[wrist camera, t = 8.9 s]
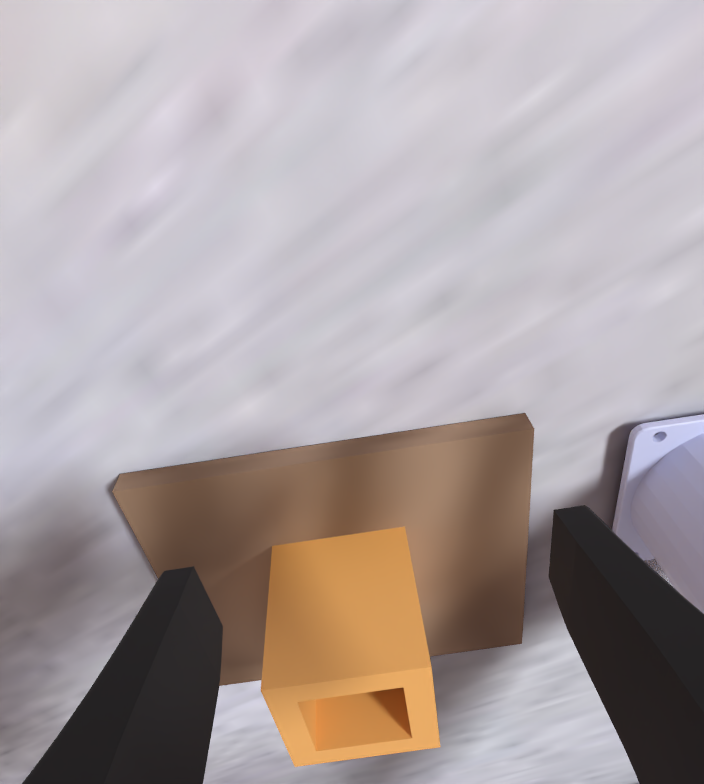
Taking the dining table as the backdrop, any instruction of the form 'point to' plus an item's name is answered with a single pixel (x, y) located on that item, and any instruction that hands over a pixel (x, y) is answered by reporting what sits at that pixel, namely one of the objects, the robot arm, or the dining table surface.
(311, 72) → the dining table surface
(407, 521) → the wooden board with peg
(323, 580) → the orange hollow cube
